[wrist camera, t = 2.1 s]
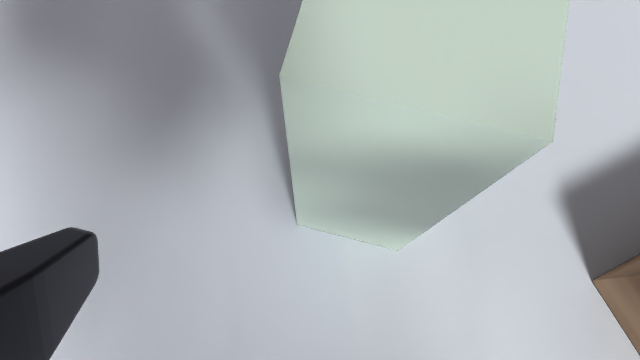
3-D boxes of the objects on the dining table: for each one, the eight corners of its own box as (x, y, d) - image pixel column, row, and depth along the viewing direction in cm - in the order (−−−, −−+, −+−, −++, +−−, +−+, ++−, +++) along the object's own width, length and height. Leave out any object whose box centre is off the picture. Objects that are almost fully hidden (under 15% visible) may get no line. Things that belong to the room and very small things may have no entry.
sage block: (398, 250, 20) (552, 141, 7) (297, 224, 20) (279, 75, 7) (417, 155, 21) (578, -78, 9) (322, 131, 21) (343, -130, 9)
